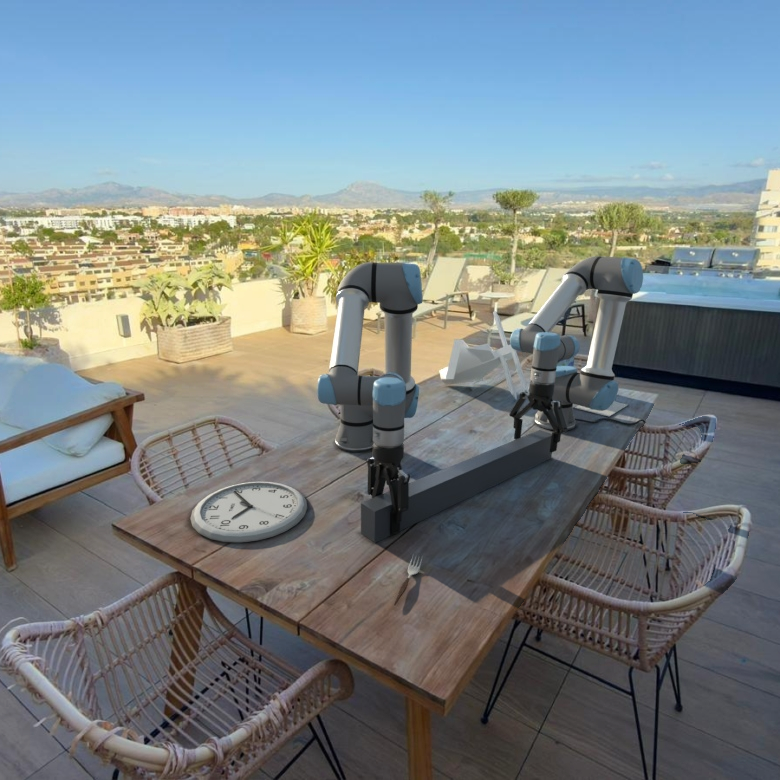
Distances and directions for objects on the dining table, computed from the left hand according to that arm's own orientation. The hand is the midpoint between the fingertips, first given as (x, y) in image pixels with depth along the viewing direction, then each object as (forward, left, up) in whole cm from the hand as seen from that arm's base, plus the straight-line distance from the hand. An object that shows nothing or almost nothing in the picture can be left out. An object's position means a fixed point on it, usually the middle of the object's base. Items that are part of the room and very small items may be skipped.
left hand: (386, 527), depth 132 cm
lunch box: (-108, +101, -1) cm, 148 cm away
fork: (+21, 0, -1) cm, 22 cm away
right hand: (-32, +55, +5) cm, 64 cm away
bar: (-16, +28, -1) cm, 32 cm away
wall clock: (-15, -34, -1) cm, 37 cm away
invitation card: (-79, +110, -1) cm, 135 cm away
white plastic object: (-106, +64, -1) cm, 124 cm away
